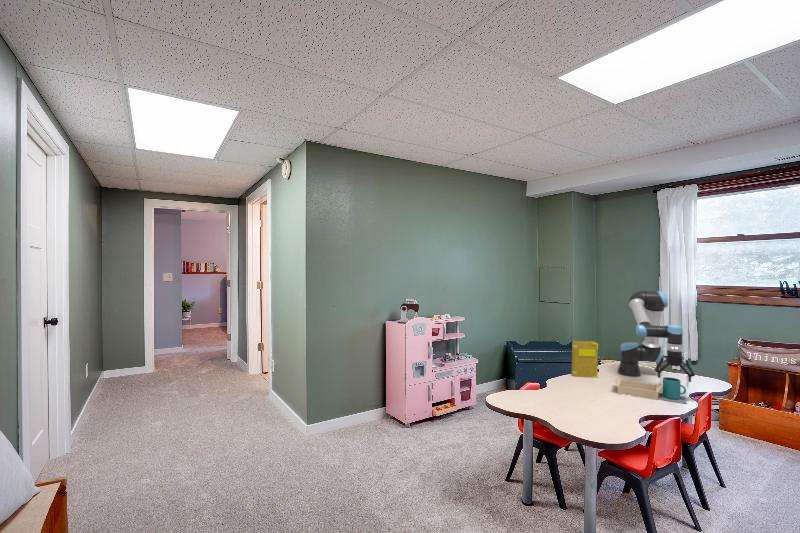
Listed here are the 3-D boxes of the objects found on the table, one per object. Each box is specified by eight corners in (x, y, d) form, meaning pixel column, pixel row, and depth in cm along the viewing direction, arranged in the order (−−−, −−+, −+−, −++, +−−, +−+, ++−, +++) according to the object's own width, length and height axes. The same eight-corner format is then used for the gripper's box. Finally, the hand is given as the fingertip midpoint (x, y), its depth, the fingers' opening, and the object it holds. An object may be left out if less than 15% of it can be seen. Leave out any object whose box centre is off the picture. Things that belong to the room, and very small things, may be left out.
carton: (615, 386, 270) (615, 374, 269) (661, 393, 256) (661, 380, 256) (613, 393, 255) (614, 380, 255) (662, 400, 241) (662, 387, 241)
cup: (684, 402, 238) (684, 383, 238) (660, 397, 246) (661, 379, 246) (687, 399, 244) (687, 380, 244) (664, 394, 252) (664, 376, 252)
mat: (661, 393, 255) (661, 393, 255) (684, 397, 248) (684, 396, 248) (662, 400, 242) (662, 399, 242) (686, 404, 236) (686, 403, 236)
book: (594, 375, 296) (594, 341, 296) (597, 377, 290) (598, 343, 290) (570, 374, 298) (570, 340, 298) (573, 376, 291) (573, 342, 291)
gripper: (650, 349, 248) (650, 383, 249) (700, 354, 235) (700, 390, 235) (650, 347, 255) (650, 380, 255) (699, 352, 242) (698, 387, 242)
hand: (674, 385), depth 245 cm, fingers open, 13 cm apart
